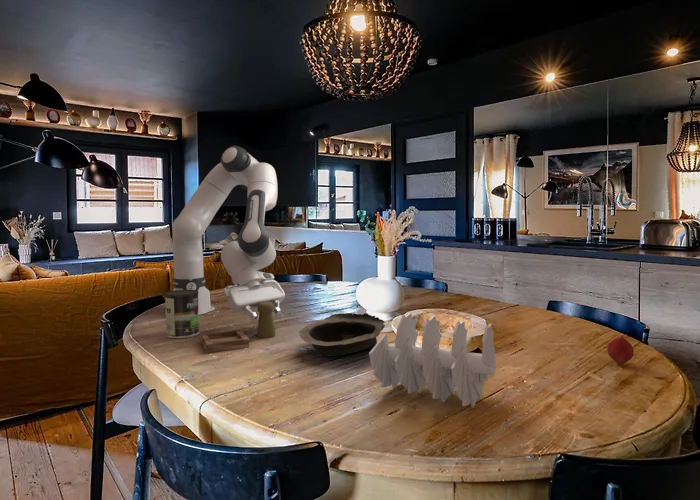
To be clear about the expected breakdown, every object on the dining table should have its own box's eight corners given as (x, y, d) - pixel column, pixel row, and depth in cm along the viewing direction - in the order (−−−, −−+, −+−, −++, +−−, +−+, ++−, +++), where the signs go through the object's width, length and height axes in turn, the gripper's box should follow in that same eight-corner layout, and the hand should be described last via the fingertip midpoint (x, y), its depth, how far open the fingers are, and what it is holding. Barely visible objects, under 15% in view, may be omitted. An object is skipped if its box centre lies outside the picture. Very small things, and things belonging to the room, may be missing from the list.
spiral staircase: (393, 395, 108) (500, 414, 95) (359, 387, 94) (479, 407, 81) (404, 321, 114) (506, 329, 101) (373, 302, 99) (487, 309, 87)
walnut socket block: (201, 342, 138) (200, 334, 138) (240, 337, 144) (240, 329, 143) (207, 353, 128) (207, 344, 127) (249, 347, 133) (248, 339, 133)
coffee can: (205, 330, 151) (204, 289, 150) (188, 339, 141) (187, 295, 140) (178, 329, 153) (176, 288, 152) (159, 337, 143) (157, 294, 142)
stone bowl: (392, 341, 138) (392, 312, 136) (374, 376, 114) (374, 341, 113) (316, 334, 144) (315, 306, 143) (285, 366, 121) (284, 333, 119)
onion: (601, 362, 118) (603, 333, 118) (617, 359, 120) (618, 330, 120) (622, 369, 113) (623, 338, 112) (638, 366, 115) (639, 336, 114)
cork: (277, 336, 144) (276, 303, 143) (258, 339, 141) (257, 304, 140) (273, 332, 149) (272, 299, 148) (255, 334, 147) (254, 301, 146)
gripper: (224, 280, 141) (243, 315, 136) (276, 273, 156) (295, 304, 151) (217, 293, 145) (235, 327, 139) (268, 284, 160) (287, 315, 154)
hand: (267, 315), depth 145 cm, fingers open, 8 cm apart
